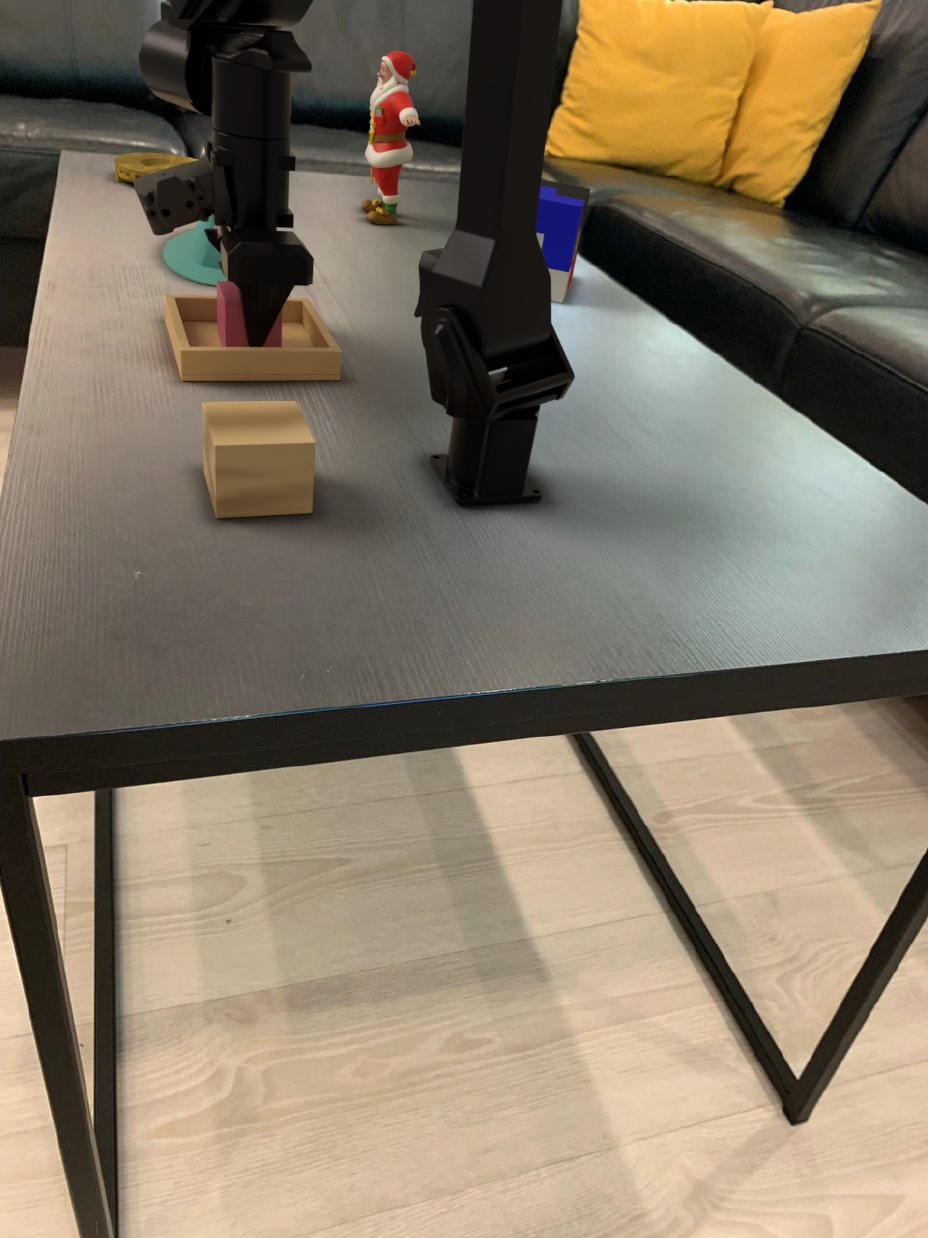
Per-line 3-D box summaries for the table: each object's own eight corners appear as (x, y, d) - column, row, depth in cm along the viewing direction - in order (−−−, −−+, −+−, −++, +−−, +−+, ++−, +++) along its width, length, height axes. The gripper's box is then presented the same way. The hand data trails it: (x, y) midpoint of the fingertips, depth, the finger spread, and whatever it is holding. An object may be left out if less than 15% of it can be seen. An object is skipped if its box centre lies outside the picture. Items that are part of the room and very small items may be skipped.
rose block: (281, 355, 78) (282, 301, 76) (225, 355, 77) (224, 299, 74) (271, 335, 82) (272, 282, 79) (217, 334, 80) (216, 280, 77)
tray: (339, 380, 77) (341, 351, 76) (181, 381, 73) (180, 349, 71) (307, 324, 86) (308, 297, 85) (165, 322, 82) (164, 293, 80)
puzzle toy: (562, 303, 102) (581, 206, 97) (473, 284, 103) (487, 188, 97) (572, 278, 111) (590, 188, 105) (489, 262, 111) (503, 171, 106)
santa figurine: (350, 191, 130) (360, 34, 119) (391, 195, 131) (405, 40, 120) (374, 244, 111) (389, 62, 100) (422, 248, 112) (442, 70, 101)
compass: (233, 188, 122) (233, 170, 121) (163, 199, 113) (163, 180, 112) (167, 166, 126) (166, 149, 125) (95, 175, 118) (93, 156, 116)
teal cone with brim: (284, 235, 108) (286, 154, 103) (279, 292, 92) (281, 200, 87) (175, 223, 106) (171, 140, 101) (151, 279, 90) (145, 184, 85)
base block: (312, 513, 60) (316, 442, 57) (216, 518, 58) (214, 445, 55) (293, 468, 64) (296, 400, 61) (203, 471, 62) (201, 401, 59)
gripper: (128, 96, 74) (140, 295, 83) (148, 151, 60) (161, 381, 69) (270, 110, 78) (267, 298, 87) (319, 164, 64) (310, 380, 73)
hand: (250, 335), depth 79 cm, fingers closed on rose block, 4 cm apart
